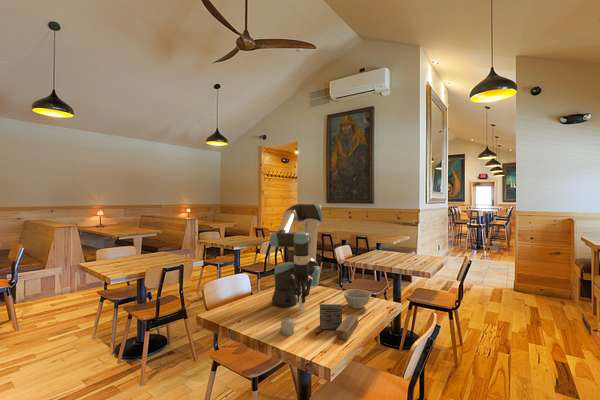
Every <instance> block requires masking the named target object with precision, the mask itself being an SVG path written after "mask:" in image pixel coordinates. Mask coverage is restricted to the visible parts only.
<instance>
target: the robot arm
mask: <svg viewBox="0 0 600 400" xmlns="http://www.w3.org/2000/svg"><path fill="white" fill-rule="evenodd" d="M322 212H323V211H322V205H321V204H317V203H310V204H309V203H297V204H294V205H290V207H288V208H287V209H286V210H285V211H284V212H283V215H282V221H281V223H280V225H279V227H278V229H277V231H276V232H271V233H270V234H269V245H270V246H271V247H276V248H293V262H292V261H290V262H289V261H287V262H286V261H285V262H281V263H278V264H276V265H275V267H274V291H273V294H272V297H271V305H272V306H275V307H279V308H289V307H293V306H296V305H297V304H298V310H299V311H302V310H304V308H305V303H306V298H307V296H309V295H310V293H311V292H310V291H311V287H317V286H318V285H319V281H320V276H321V266H319V263H318V262H317V244H318V243H317V242H318V227H319V226H320V225H321V223H322V222H323V221H324V219H323V213H322ZM297 222H301V223H302V225H303V226H304V227H303V231H301V232H300V231H297V232H294V233H293V232H292V231H293V227H294V225H295V224H296V223H297Z"/></svg>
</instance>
